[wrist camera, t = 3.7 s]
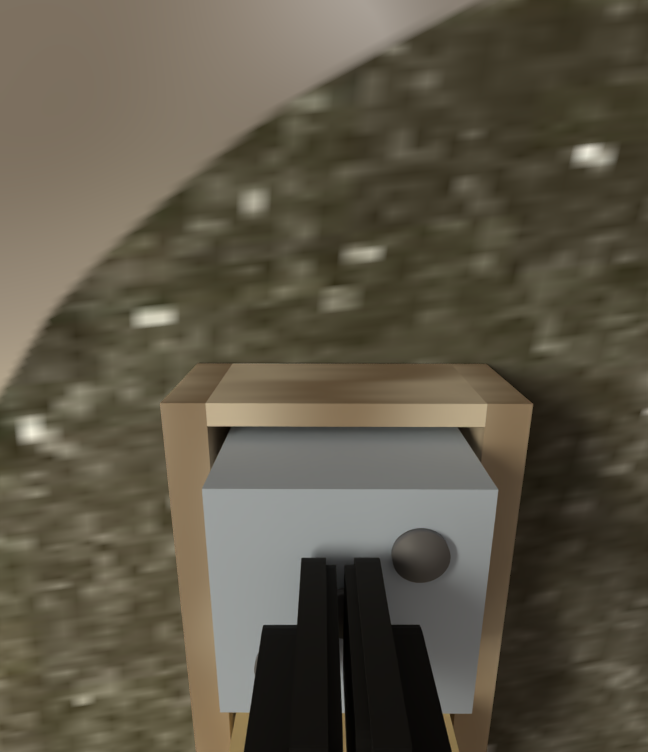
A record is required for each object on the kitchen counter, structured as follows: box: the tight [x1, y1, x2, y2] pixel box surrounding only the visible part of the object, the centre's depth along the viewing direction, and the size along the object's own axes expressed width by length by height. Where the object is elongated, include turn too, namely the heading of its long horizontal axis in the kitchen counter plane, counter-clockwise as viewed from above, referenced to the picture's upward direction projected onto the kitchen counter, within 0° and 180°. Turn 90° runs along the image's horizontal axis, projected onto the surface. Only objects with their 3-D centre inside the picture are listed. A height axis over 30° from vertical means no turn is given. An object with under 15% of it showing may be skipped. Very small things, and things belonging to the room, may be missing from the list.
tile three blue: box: [202, 426, 498, 714], centre depth 12 cm, size 6×6×4 cm
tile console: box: [160, 363, 533, 752], centre depth 17 cm, size 9×24×4 cm, turn 0°
